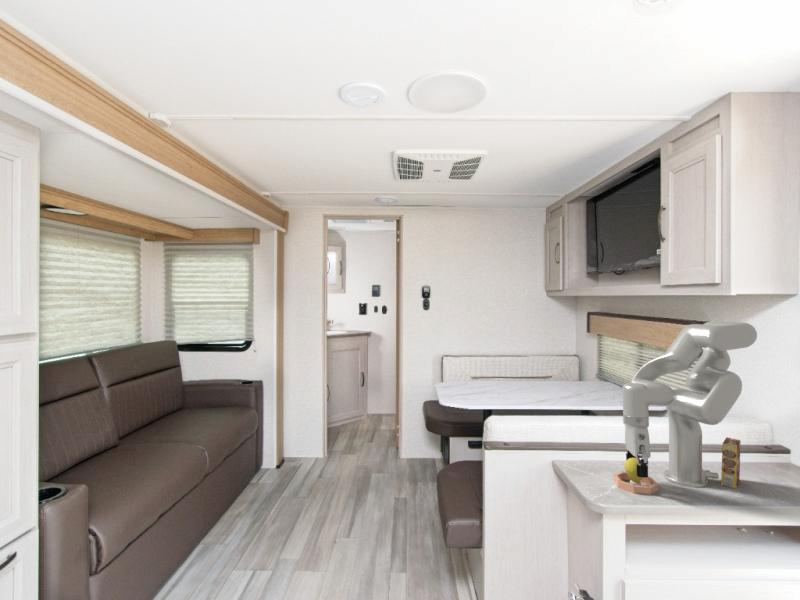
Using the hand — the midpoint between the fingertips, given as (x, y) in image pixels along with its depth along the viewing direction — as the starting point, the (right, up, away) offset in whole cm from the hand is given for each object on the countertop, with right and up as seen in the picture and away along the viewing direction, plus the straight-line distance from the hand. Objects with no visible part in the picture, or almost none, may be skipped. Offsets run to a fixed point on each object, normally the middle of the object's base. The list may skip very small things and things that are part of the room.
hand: (636, 470), depth 136 cm
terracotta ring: (-1, -6, 0) cm, 6 cm away
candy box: (+34, -6, +2) cm, 34 cm away
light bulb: (0, -6, 0) cm, 6 cm away
